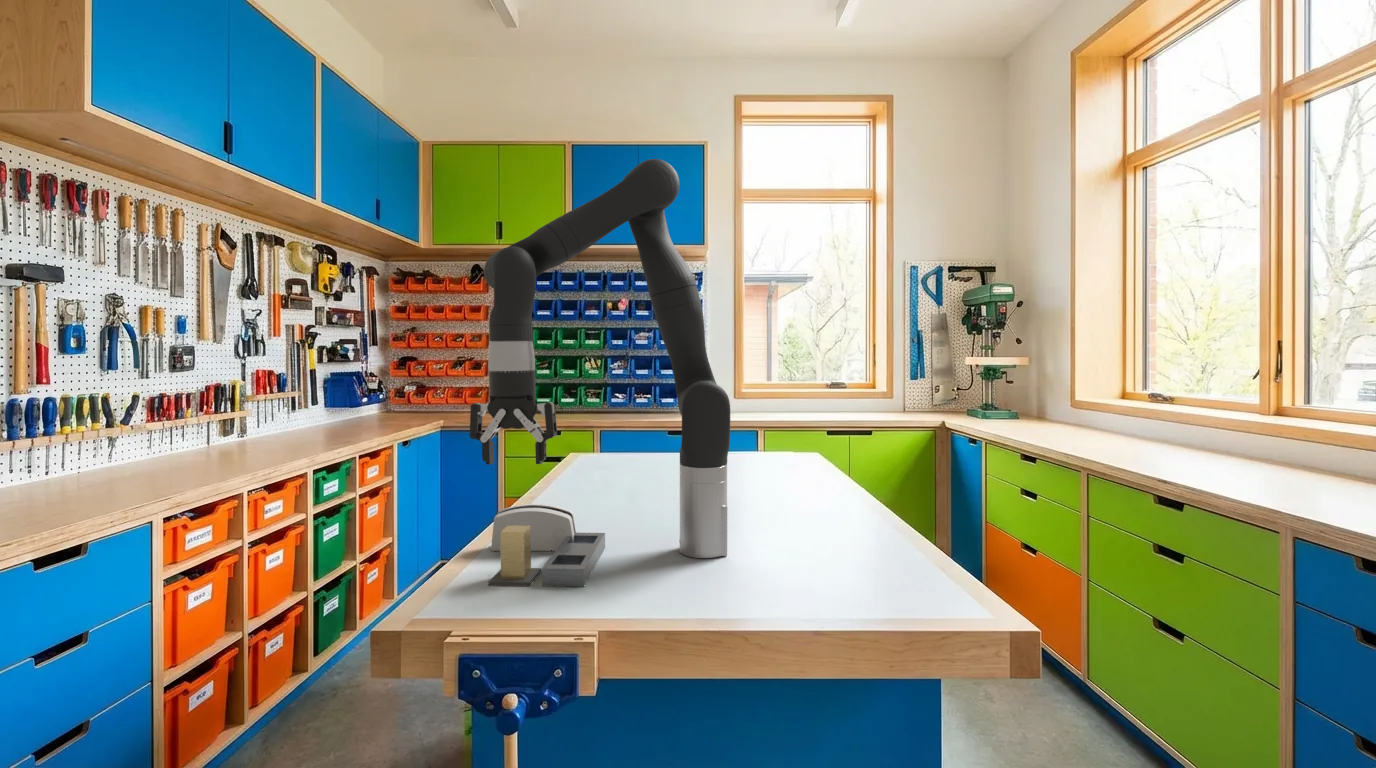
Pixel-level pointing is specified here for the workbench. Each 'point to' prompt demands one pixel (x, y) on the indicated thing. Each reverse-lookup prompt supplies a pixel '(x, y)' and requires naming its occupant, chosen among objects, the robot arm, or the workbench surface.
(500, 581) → the pad
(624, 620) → the workbench surface
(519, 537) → the tan wooden beam
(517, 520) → the white arched device
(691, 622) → the workbench surface
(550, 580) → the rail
